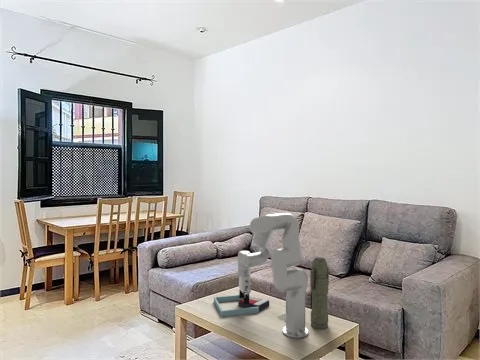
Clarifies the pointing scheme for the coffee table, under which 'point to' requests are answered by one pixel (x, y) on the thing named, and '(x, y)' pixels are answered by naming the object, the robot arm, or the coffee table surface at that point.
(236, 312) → the teal u-shaped piece
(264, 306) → the calculator
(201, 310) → the coffee table surface
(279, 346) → the coffee table surface
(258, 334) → the coffee table surface
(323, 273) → the thermos
